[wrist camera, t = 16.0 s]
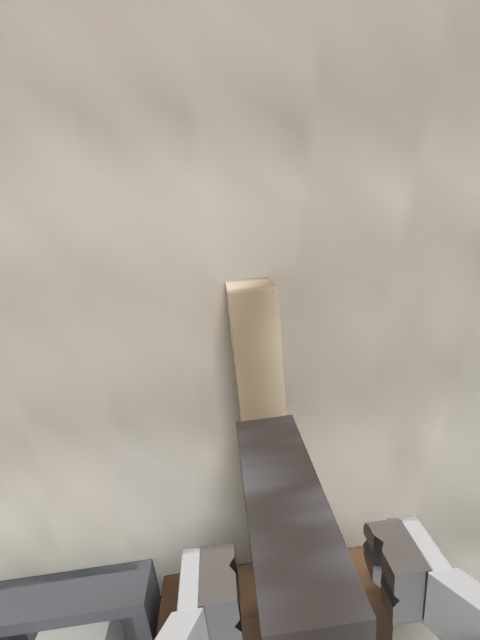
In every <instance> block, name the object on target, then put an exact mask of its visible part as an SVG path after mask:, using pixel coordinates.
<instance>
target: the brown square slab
mask: <svg viewBox="0 0 480 640" xmlns="http://www.w3.org/2000/svg"><path fill="white" fill-rule="evenodd" d="M348 551H349V554H350V556H351V559H352V561H353V563H354V566H355V568H356V571H357V573H358V575H359V578H360V580H361V583H362V585H363V588H364V590H365V592H366V595H367V597H368V600H369V602H370V604H371V607H372V609H373V612H374V614H375V617H376V619H377V620H376V640H392V630H393V625H392V623H391V621H390V619H389V617H388V614H387V612H386V610H385V608H384V606H383V603H382V601H381V599H380V591H381V588H380V587H379V586H377V585H376V584H375V583H374V582H373V581H372V579H371V576H370V574H369V572H368V569H367V566H366V562H365V557H364V548H363V547H357V548H350V549H348ZM237 568H238V577H239V588H240V600H241V603H240V608H241V616H242V627H243V640H261V632H260V623H259V615H258V606H257V598H256V589H255V581H254V572H253V564H252V563H250V564H243V565H237ZM179 581H180V574H176V575H169V576H164V582H163V589H162V596H161V603H160V611H159V618H158V625H157V633H156V634H157V635H158V633H159V631H160V630H161V628H162V627H163V625H164V623H165V622H166V620H167V618H168V617H169V615H170V614H171V612H175V611H177V603H178V592H179Z"/></svg>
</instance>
